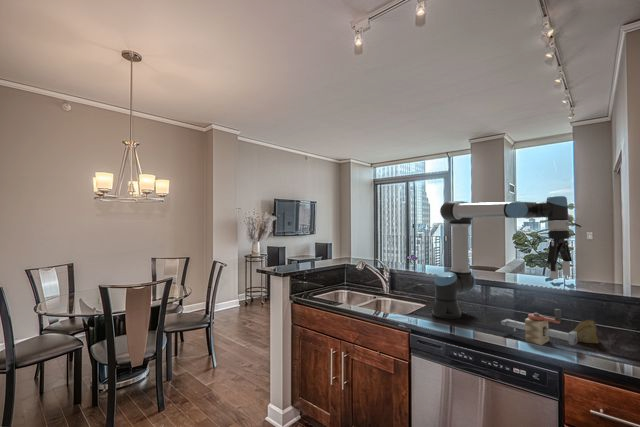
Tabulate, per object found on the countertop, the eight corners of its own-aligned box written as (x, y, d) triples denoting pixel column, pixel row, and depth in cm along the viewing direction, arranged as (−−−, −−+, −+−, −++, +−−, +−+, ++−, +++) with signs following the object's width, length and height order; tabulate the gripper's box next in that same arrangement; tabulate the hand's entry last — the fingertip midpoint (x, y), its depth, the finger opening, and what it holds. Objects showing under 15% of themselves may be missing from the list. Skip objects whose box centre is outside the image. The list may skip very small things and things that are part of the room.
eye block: (525, 340, 137) (524, 319, 137) (533, 336, 142) (532, 315, 142) (541, 345, 132) (540, 322, 132) (548, 340, 137) (548, 319, 137)
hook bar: (501, 327, 146) (501, 318, 147) (507, 325, 150) (507, 315, 150) (572, 345, 124) (572, 334, 124) (578, 342, 128) (577, 331, 128)
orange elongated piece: (525, 318, 138) (525, 305, 138) (531, 315, 141) (531, 303, 142) (558, 325, 128) (558, 311, 128) (564, 322, 131) (563, 308, 132)
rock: (566, 336, 135) (596, 339, 128) (565, 317, 140) (594, 319, 133) (572, 346, 141) (601, 349, 134) (571, 328, 145) (599, 330, 138)
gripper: (556, 230, 132) (559, 281, 131) (578, 229, 146) (580, 275, 145) (536, 230, 138) (539, 278, 137) (559, 229, 152) (561, 273, 151)
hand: (560, 277), depth 141 cm, fingers open, 13 cm apart
